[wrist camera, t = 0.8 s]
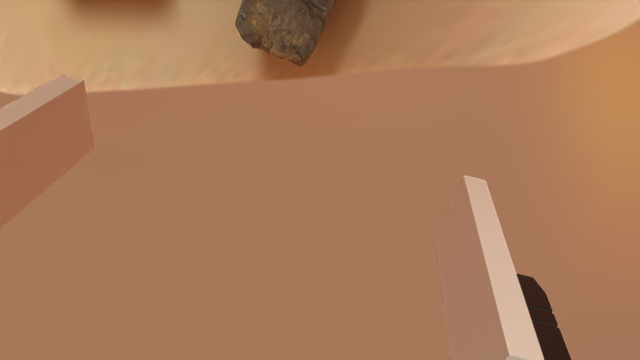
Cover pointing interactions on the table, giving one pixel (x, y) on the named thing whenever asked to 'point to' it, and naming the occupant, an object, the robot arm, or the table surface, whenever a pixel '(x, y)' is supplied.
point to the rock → (284, 26)
